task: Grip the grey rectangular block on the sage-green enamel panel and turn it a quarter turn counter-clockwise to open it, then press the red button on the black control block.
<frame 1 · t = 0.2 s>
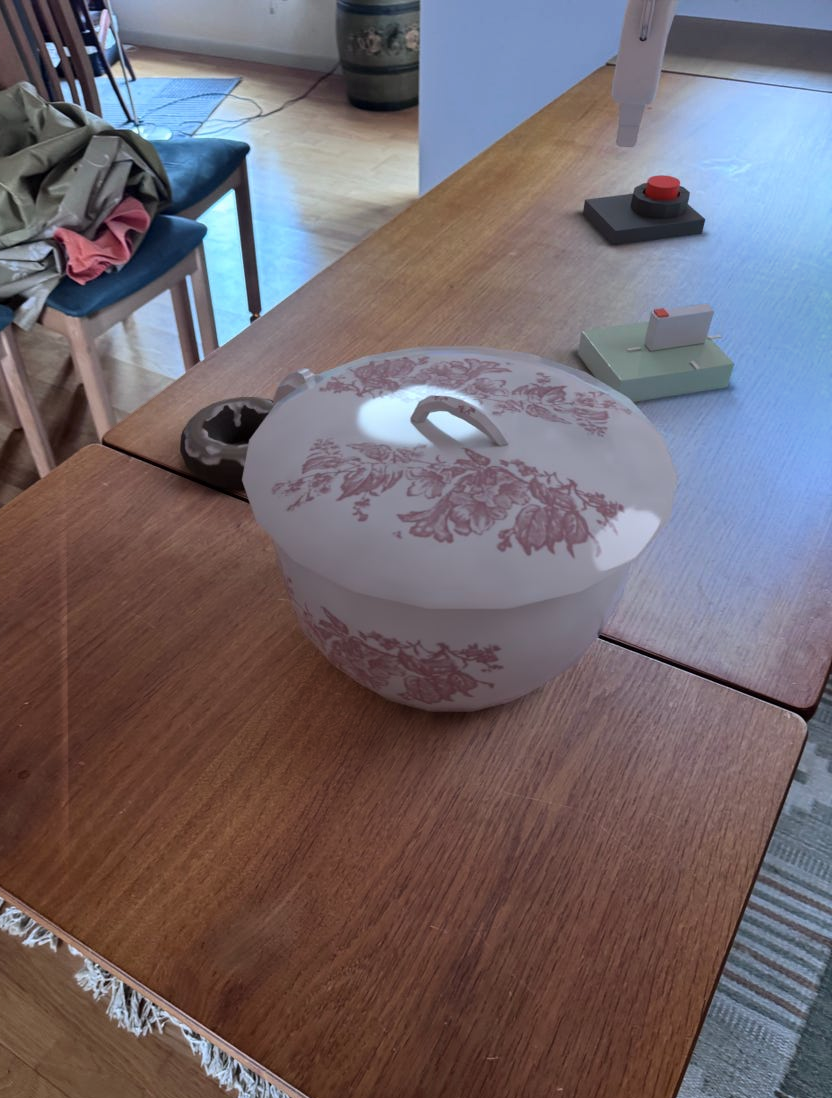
hand: (630, 126, 86), 21 cm above the table, tool pointing down, fingers open, 8 cm apart
donut: (245, 460, 86), on the table
tap panel: (649, 372, 94), on the table
grey rectangular block: (678, 326, 91), point 5 cm above the table, hinge at 0.0°
chamber pot: (444, 631, 71), on the table
button block: (640, 226, 118), on the table
red button: (662, 188, 115), point 4 cm above the table, slide at 0.1 cm
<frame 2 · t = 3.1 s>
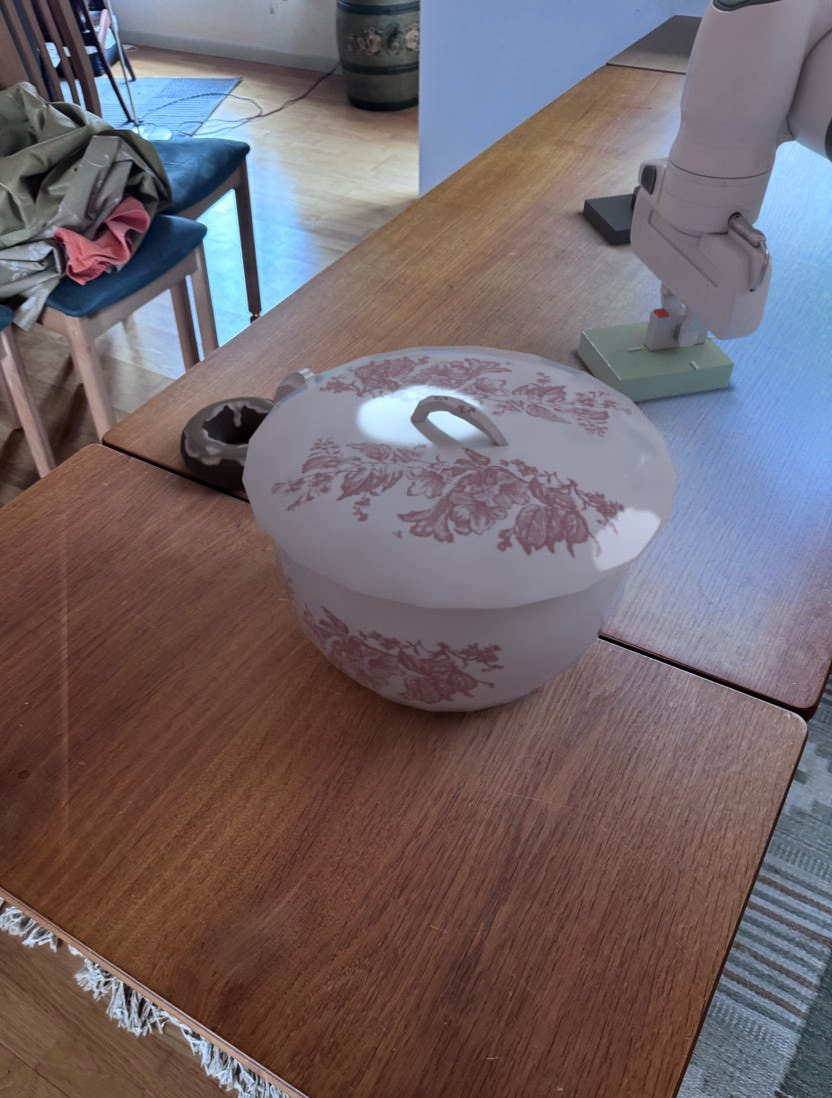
hand: (676, 335, 92), 4 cm above the table, tool pointing down, fingers closed on grey rectangular block, 2 cm apart
grey rectangular block: (678, 326, 91), point 5 cm above the table, hinge at 0.0°, touching gripper
everything else where it was.
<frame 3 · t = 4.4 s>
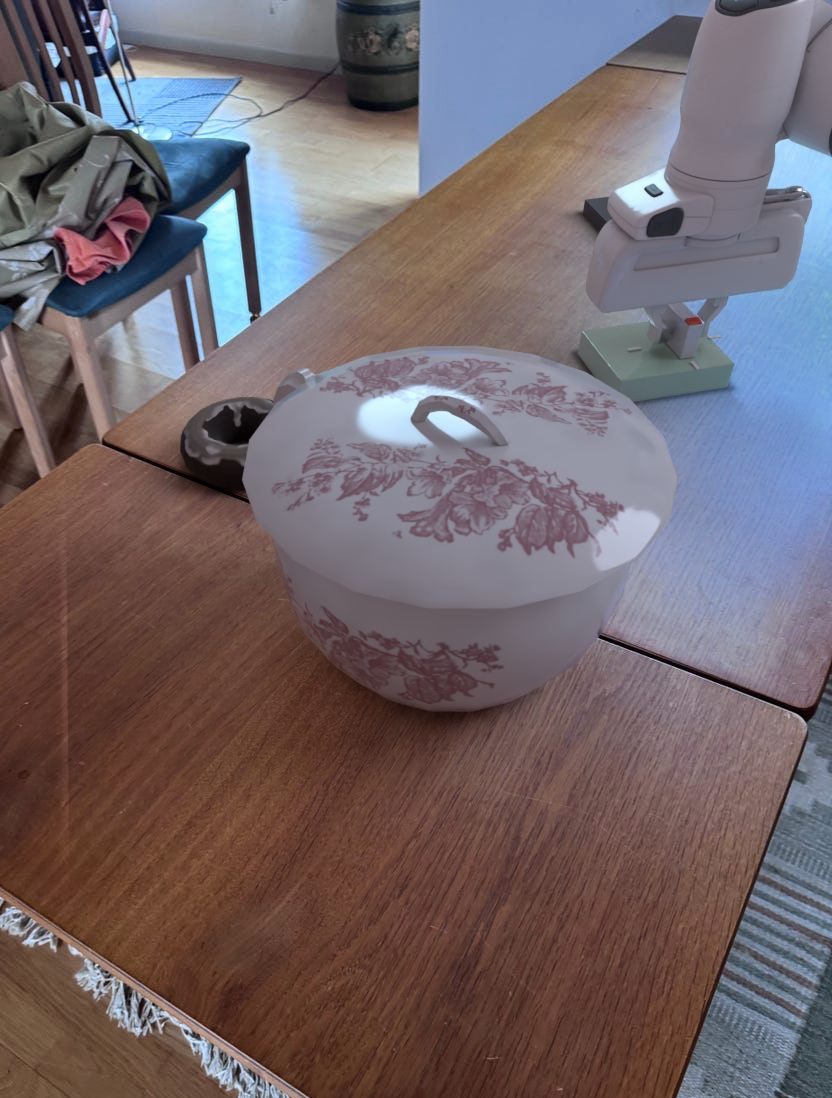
hand: (676, 338, 92), 4 cm above the table, tool pointing down, fingers open, 3 cm apart
grey rectangular block: (678, 326, 91), point 5 cm above the table, hinge at 89.3°
everything else where it was.
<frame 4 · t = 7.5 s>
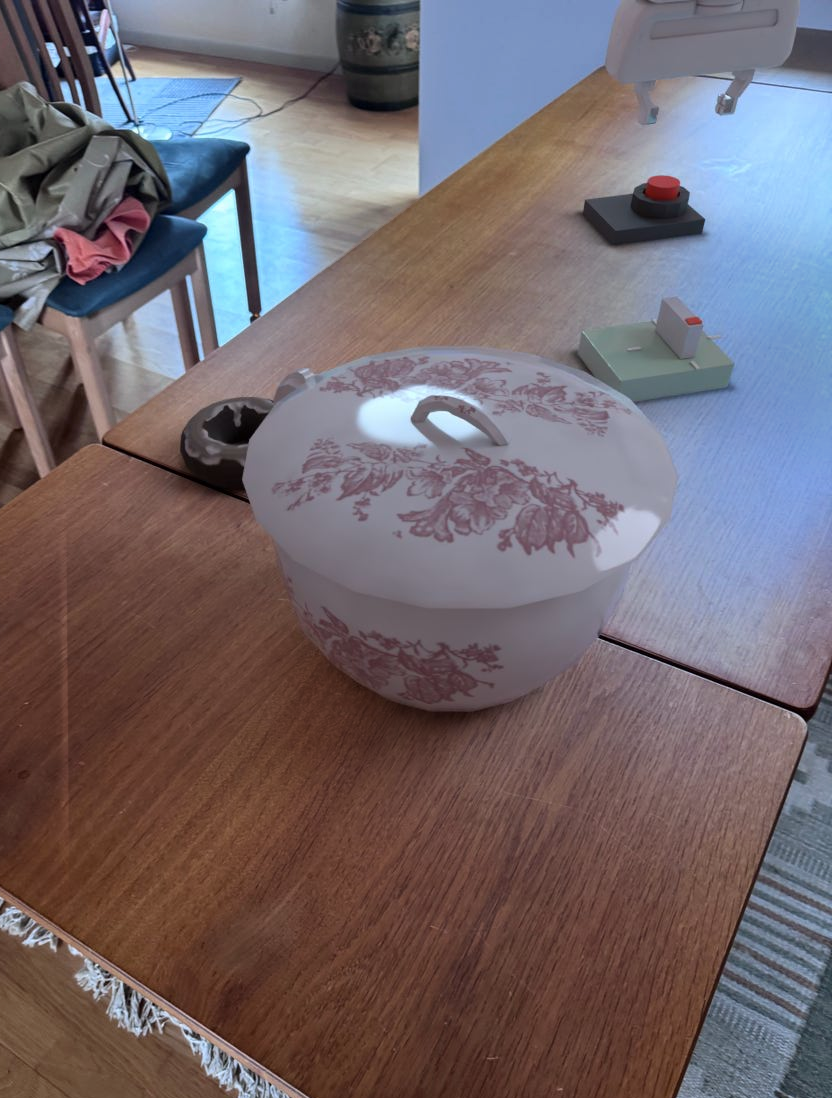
hand: (685, 118, 101), 15 cm above the table, tool pointing down, fingers open, 8 cm apart
nothing on the table moved.
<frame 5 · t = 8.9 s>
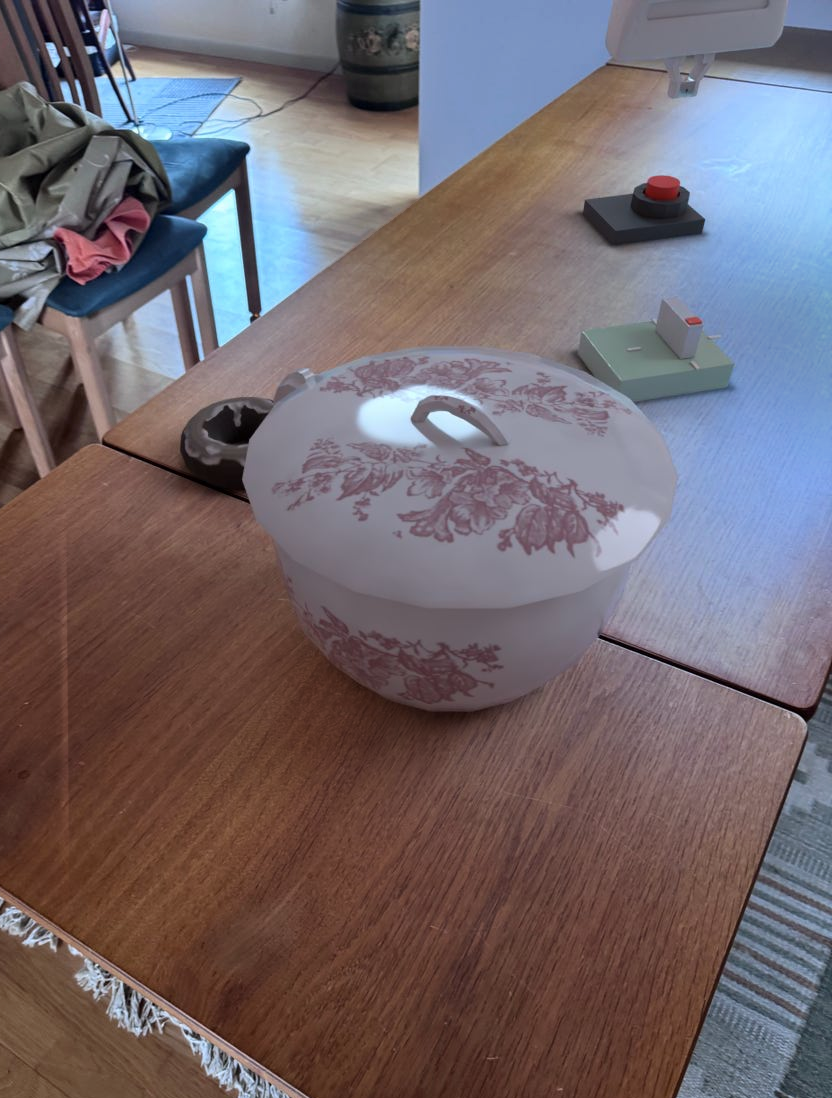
hand: (681, 96, 107), 15 cm above the table, tool pointing down, fingers closed
nothing on the table moved.
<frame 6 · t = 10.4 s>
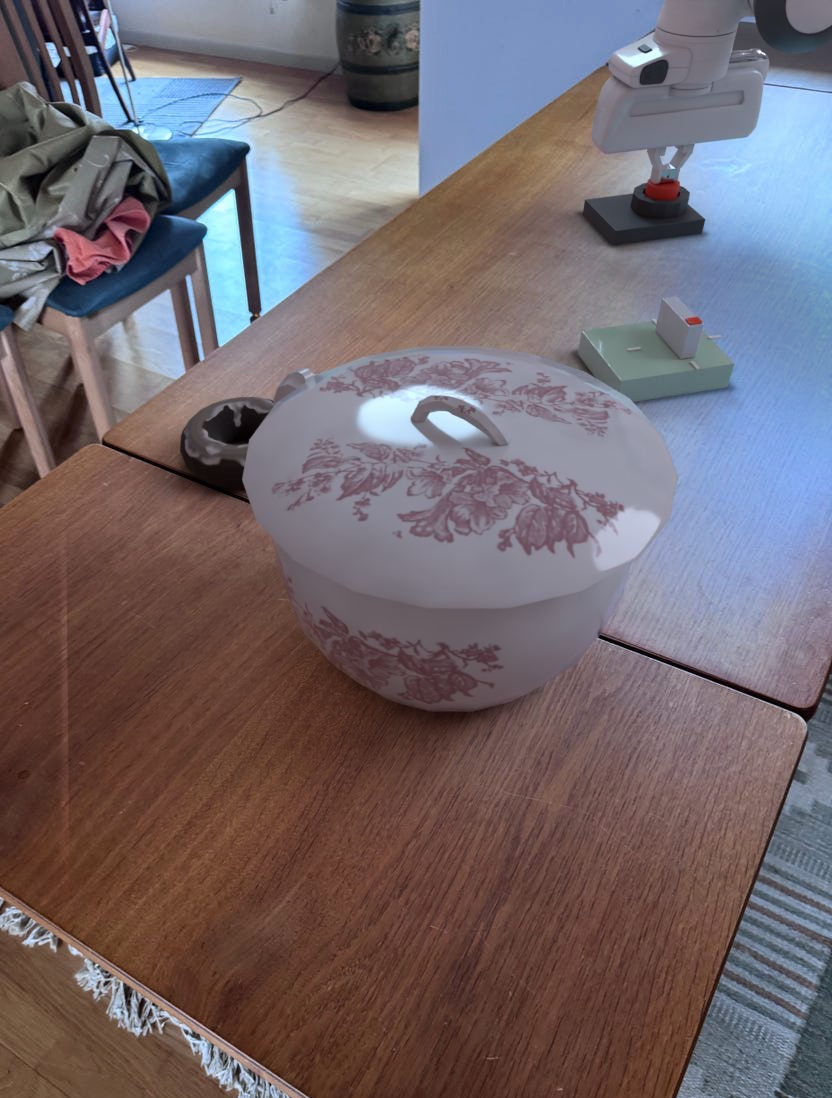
hand: (663, 181, 114), 5 cm above the table, tool pointing down, fingers closed, pressing on red button
red button: (662, 189, 115), point 4 cm above the table, slide at 0.0 cm, touching gripper
everything else where it was.
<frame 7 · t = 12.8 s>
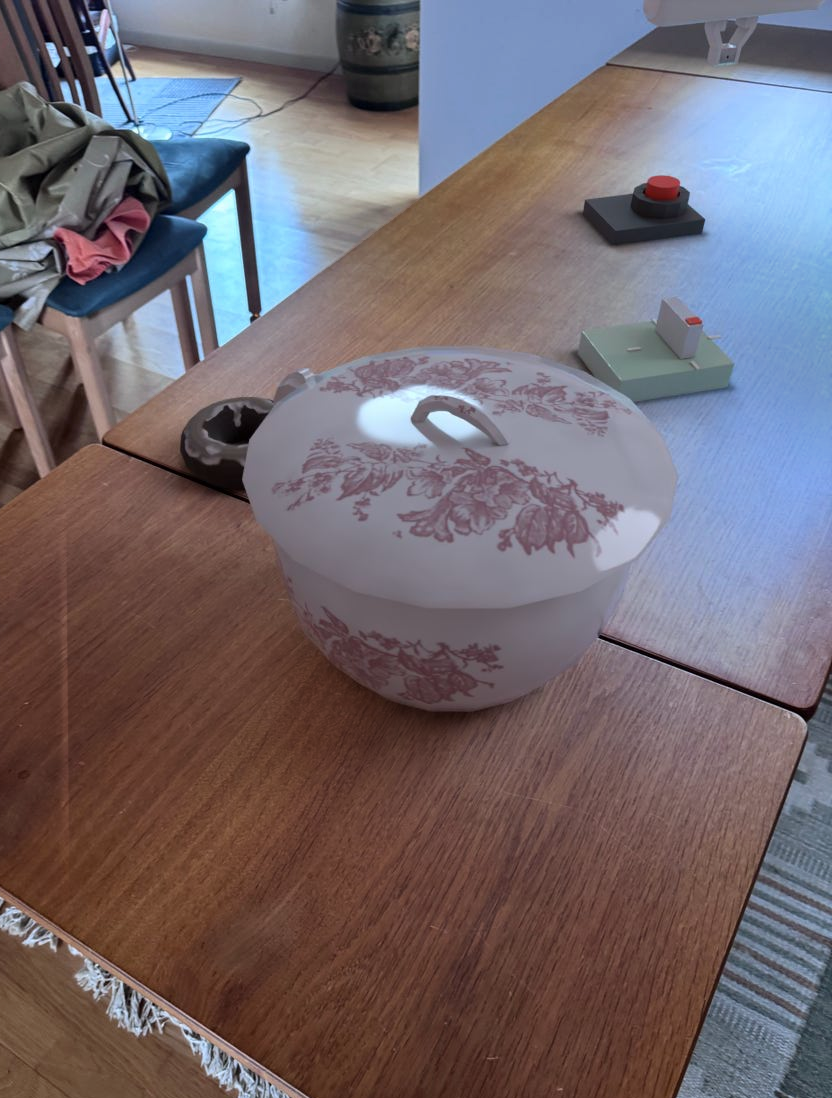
hand: (721, 64, 103), 19 cm above the table, tool pointing down, fingers closed
red button: (662, 188, 115), point 4 cm above the table, slide at 0.1 cm
everything else where it was.
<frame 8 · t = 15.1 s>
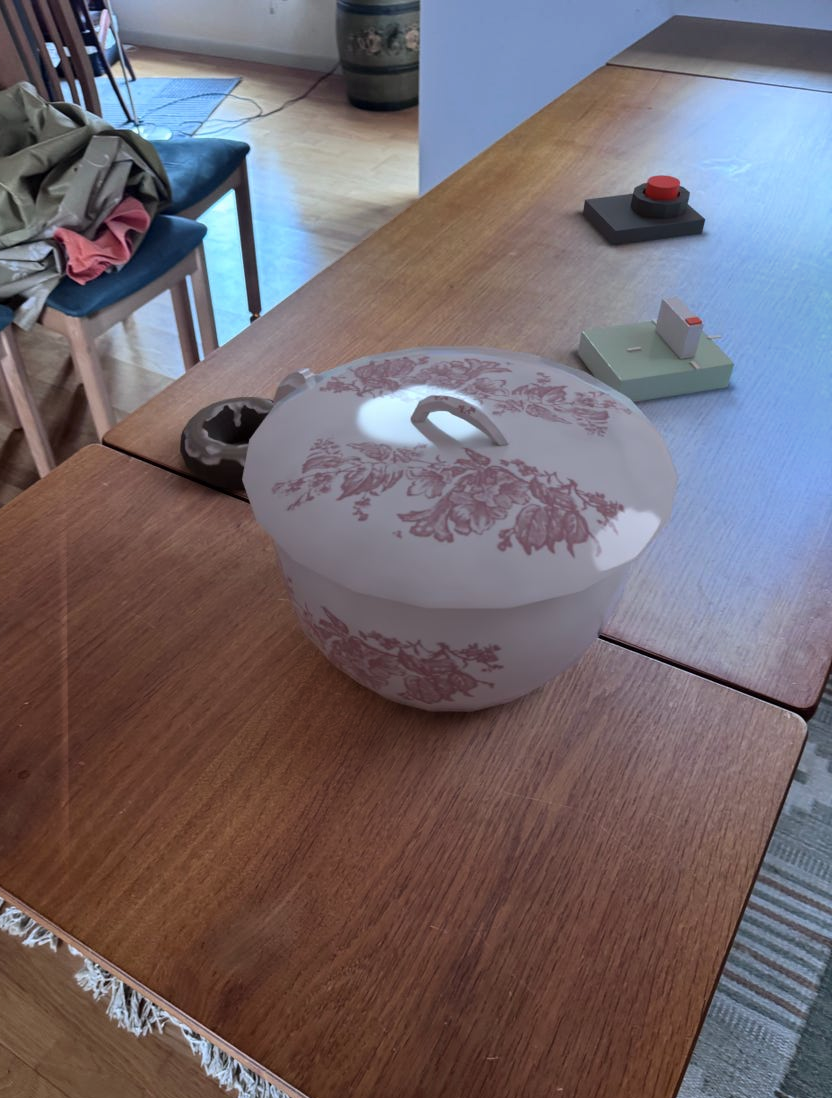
nothing on the table moved.
at the end: grey rectangular block at +89° (first picture: +0°); red button pushed in 1.0 cm at the most during the clip, back to where it started at the end; red button slide at 0.1 cm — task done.
